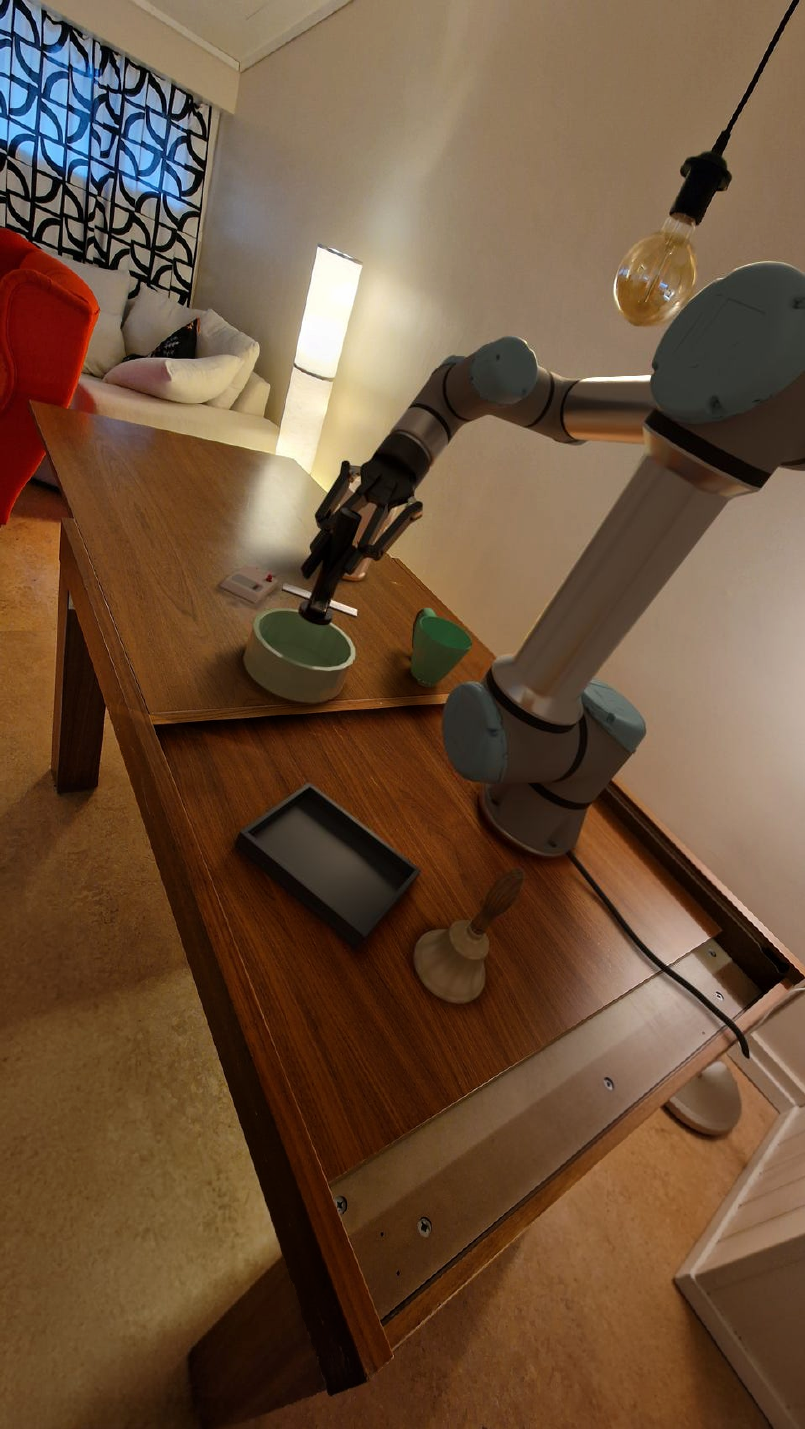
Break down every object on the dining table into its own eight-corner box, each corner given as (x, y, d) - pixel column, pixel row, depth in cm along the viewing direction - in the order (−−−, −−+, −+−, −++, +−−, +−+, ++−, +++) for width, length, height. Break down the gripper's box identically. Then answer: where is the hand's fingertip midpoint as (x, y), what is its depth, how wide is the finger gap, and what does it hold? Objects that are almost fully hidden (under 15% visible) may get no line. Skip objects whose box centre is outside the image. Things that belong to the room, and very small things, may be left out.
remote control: (213, 594, 105) (217, 578, 103) (252, 565, 118) (256, 551, 116) (248, 611, 105) (253, 596, 103) (283, 581, 118) (288, 567, 117)
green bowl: (359, 686, 101) (374, 652, 97) (299, 720, 88) (314, 682, 85) (287, 634, 104) (298, 599, 101) (220, 659, 92) (230, 621, 88)
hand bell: (398, 964, 64) (466, 869, 55) (436, 917, 71) (502, 825, 62) (462, 1021, 62) (543, 932, 53) (495, 967, 68) (572, 880, 60)
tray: (413, 883, 73) (421, 870, 72) (356, 951, 63) (365, 937, 62) (302, 795, 77) (309, 781, 76) (233, 846, 67) (239, 831, 66)
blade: (353, 613, 95) (391, 517, 87) (347, 645, 87) (389, 542, 78) (284, 587, 93) (316, 486, 84) (271, 618, 85) (305, 509, 76)
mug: (456, 698, 110) (481, 653, 104) (407, 693, 105) (431, 645, 99) (427, 650, 120) (449, 606, 114) (382, 642, 115) (403, 596, 109)
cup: (375, 587, 132) (406, 512, 122) (326, 578, 126) (354, 498, 117) (359, 561, 140) (387, 487, 130) (312, 551, 134) (338, 473, 124)
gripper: (456, 494, 91) (367, 622, 86) (363, 443, 93) (272, 565, 88) (460, 461, 83) (364, 598, 78) (359, 407, 85) (260, 537, 81)
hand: (315, 580), depth 83 cm, fingers closed on blade, 3 cm apart
